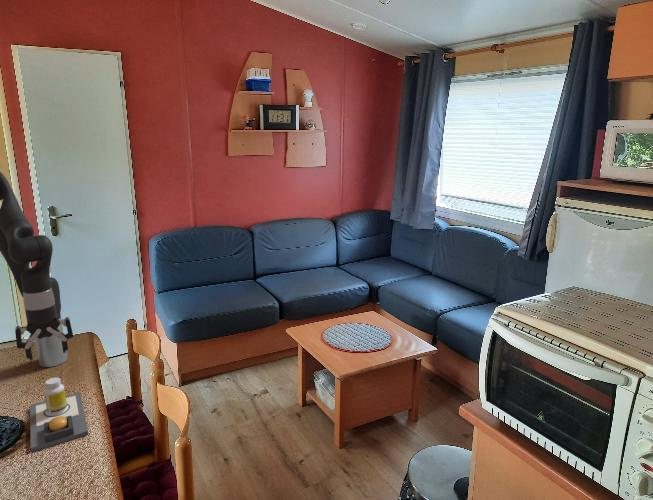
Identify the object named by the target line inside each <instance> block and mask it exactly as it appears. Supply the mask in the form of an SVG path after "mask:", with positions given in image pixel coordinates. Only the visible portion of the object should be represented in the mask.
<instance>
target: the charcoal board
mask: <svg viewBox="0 0 653 500" xmlns="http://www.w3.org/2000/svg"><path fill="white" fill-rule="evenodd" d="M65 395H66V394H65ZM72 396H76V402H77V407H78V413H79V415H77V416H73V417H71V416H67V417H66V419H67V427H66V428H65V429H61V430H58V431H54V432H51V431H50V428H49V422H46V423H44V425H41V426H38V427H36V406H38V405H42V404H45V403H46V402H45V400H44V401H40V402H35V403H32V404H30V405H29V406H30V407H29V408H30V409H29V412H30V413H29V414H30V415H29V416H30V422H29V423H30V425H29V426H30V451H31V453H33V452H35V451H36V452H37V451H39V450H43V449H45V448H49V447H51V446H56V445H58V444H62V443H66V442H68V441H72V440H74V439H78V438H81V437H85V436H88V434H89V429H88V424H87V419H86V414H85V410H84V409H85V408H84V405H83V400H82V395H81V391H79V392H78V391H77V392H75V393H72V394H71V393H70V394H67V395H66V398H68V397H72Z"/></svg>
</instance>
